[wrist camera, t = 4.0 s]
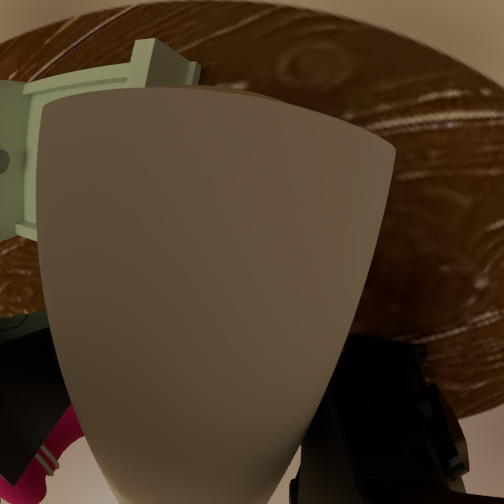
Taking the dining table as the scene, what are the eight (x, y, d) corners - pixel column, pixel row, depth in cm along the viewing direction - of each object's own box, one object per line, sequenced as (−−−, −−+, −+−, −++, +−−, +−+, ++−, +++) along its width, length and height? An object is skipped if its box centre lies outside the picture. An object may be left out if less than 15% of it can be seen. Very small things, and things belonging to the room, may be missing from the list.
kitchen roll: (155, 115, 8) (-22, 91, 2) (362, 143, 8) (485, 108, 2) (149, 406, 13) (87, 503, 7) (277, 443, 12) (251, 562, 6)
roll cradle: (201, 66, 16) (162, 37, 11) (175, 270, 21) (135, 304, 15) (32, 86, 19) (-12, 83, 13) (23, 227, 23) (-18, 242, 18)
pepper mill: (84, 320, 24) (-66, 447, 6) (146, 361, 24) (10, 531, 5) (81, 366, 27) (-32, 481, 8) (135, 403, 26) (33, 542, 8)
